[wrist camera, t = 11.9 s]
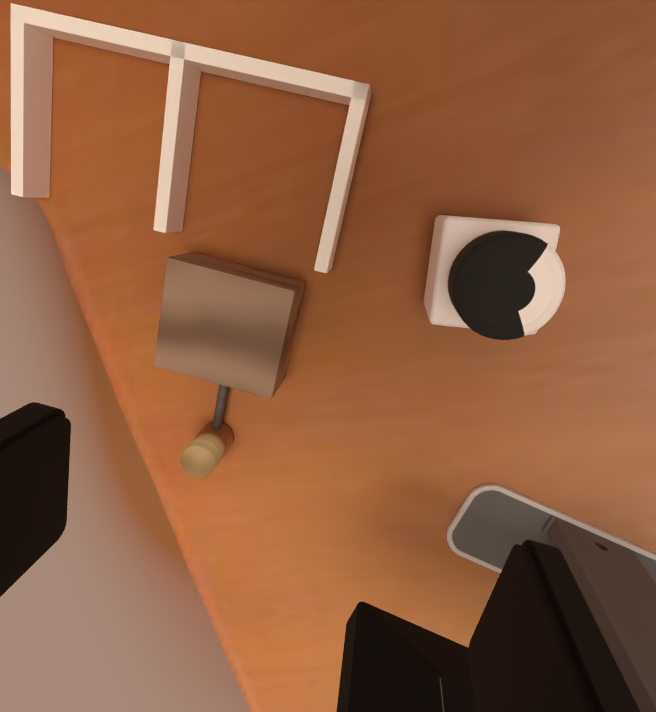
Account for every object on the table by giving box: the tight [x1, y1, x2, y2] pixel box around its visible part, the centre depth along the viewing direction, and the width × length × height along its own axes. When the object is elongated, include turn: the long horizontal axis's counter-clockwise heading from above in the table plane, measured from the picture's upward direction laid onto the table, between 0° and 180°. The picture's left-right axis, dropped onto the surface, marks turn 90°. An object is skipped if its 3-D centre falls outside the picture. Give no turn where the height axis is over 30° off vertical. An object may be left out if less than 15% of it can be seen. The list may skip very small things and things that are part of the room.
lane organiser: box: [11, 3, 371, 273], centre depth 35 cm, size 13×26×3 cm, turn 77°
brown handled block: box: [154, 252, 306, 478], centre depth 39 cm, size 18×10×5 cm, turn 167°
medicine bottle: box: [423, 215, 565, 340], centre depth 31 cm, size 7×7×12 cm
